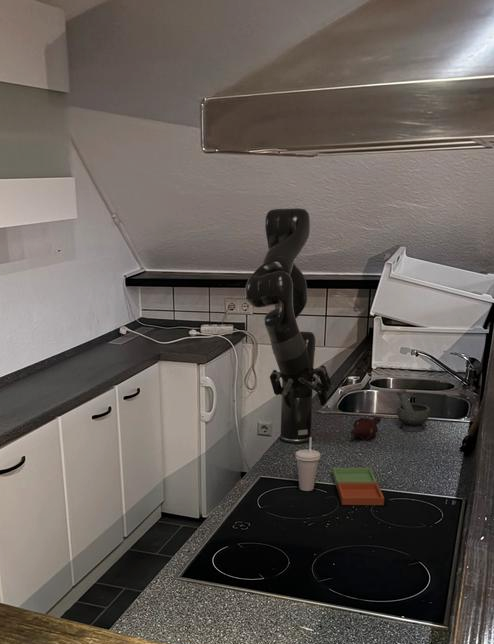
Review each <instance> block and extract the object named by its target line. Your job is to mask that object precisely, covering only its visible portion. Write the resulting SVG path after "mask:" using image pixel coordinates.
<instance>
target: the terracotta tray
mask: <svg viewBox="0 0 494 644" xmlns="http://www.w3.org/2000/svg"><path fill="white" fill-rule="evenodd" d="M380 487H381V486H380V485H379V483H378V482H377V483H337V488H336V491H337V494H338V497H339V500H340V504H341V506H384V505H385V496H384V493H383V492H382V490H381V488H380Z"/></svg>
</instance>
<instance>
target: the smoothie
mask: <svg viewBox="0 0 494 644" xmlns="http://www.w3.org/2000/svg"><path fill="white" fill-rule="evenodd" d="M312 441H313V437H312V436H311V437H310V440H309V441H308V442H309V443H308V449H299V450H297V451H296V452H295V454H294V455H295V456H294V458H295V459H296V467H297V477H298V478H297V479H298V489H299V490H300V491H303V492H310V491H314V489H315V484H316V478H317V472H318V467H319V461H320V459H321V452H319V451H318V450H314V449H312Z"/></svg>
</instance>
